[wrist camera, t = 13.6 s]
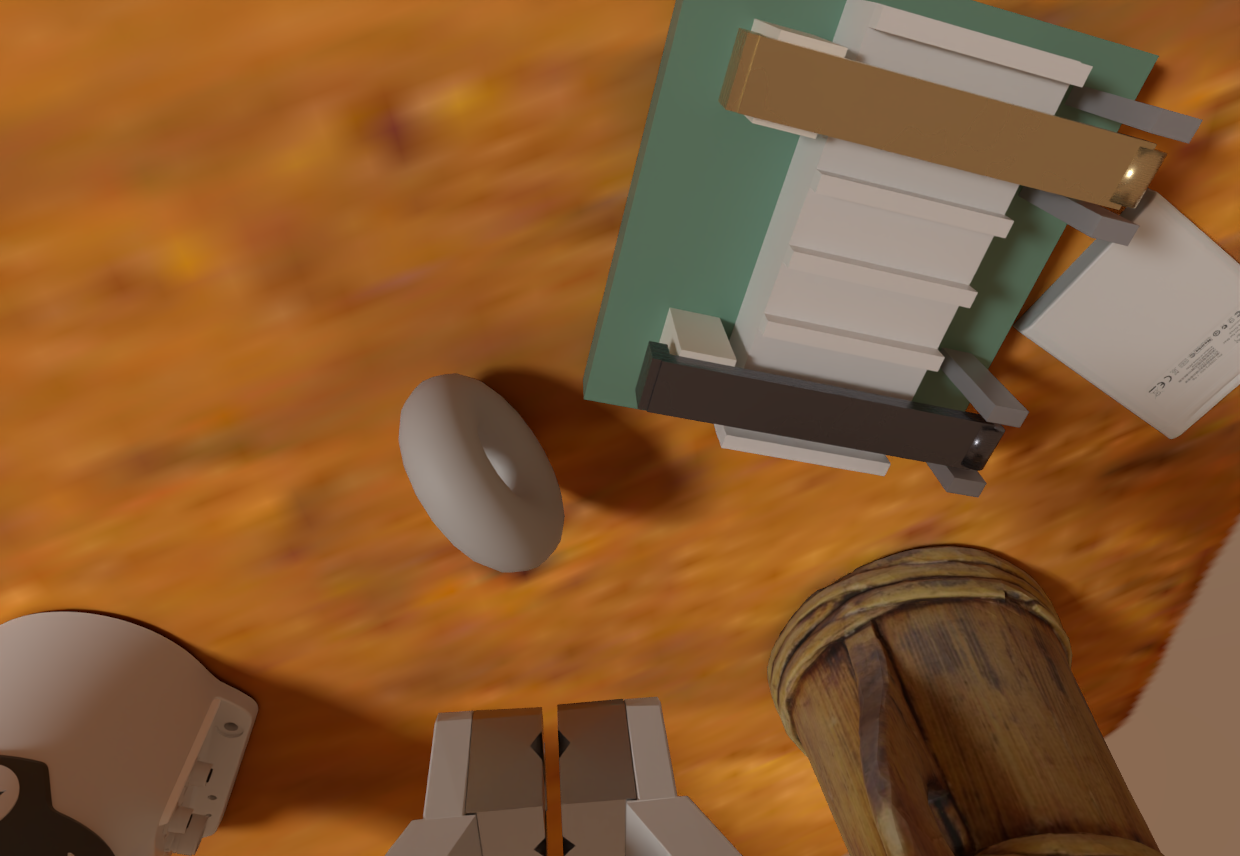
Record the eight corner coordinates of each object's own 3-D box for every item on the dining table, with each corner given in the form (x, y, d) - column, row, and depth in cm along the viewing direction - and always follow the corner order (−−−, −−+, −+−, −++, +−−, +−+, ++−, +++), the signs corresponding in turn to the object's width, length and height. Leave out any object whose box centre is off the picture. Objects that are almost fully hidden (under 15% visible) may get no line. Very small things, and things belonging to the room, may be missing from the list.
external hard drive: (1138, 183, 36) (1286, 312, 40) (1006, 321, 40) (1155, 427, 44) (1161, 193, 35) (1312, 326, 39) (1022, 335, 38) (1174, 443, 42)
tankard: (876, 767, 58) (1051, 1236, 37) (659, 619, 49) (728, 1137, 28) (1095, 638, 52) (1454, 1114, 31) (895, 440, 43) (1217, 933, 22)
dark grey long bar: (967, 451, 37) (986, 476, 35) (635, 389, 34) (638, 413, 32) (991, 408, 35) (1013, 431, 34) (648, 340, 33) (653, 363, 31)
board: (922, 442, 43) (984, 530, 36) (583, 379, 39) (586, 464, 33) (1128, 49, 33) (1263, 76, 26) (695, -79, 29) (730, -84, 23)
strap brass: (1108, 201, 30) (1140, 216, 29) (718, 101, 28) (727, 112, 26) (1143, 138, 29) (1179, 150, 28) (739, 27, 26) (750, 33, 25)
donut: (577, 464, 42) (580, 595, 34) (526, 493, 43) (516, 629, 35) (458, 324, 38) (426, 437, 29) (403, 361, 38) (357, 481, 30)
